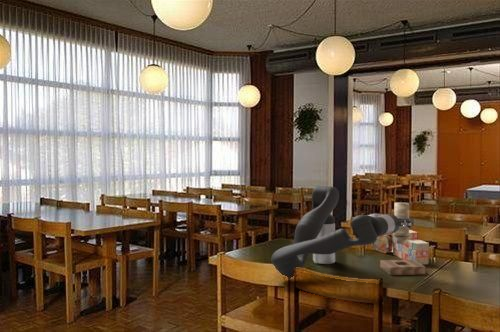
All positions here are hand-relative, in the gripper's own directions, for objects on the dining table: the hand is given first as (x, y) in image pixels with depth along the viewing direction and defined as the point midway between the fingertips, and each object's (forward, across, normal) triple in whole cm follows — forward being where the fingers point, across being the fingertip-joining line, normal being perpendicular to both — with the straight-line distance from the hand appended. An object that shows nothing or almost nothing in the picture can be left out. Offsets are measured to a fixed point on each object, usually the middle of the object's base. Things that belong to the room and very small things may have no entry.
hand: (404, 219), depth 190 cm
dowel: (-3, 0, -9) cm, 9 cm away
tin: (+28, -23, -21) cm, 42 cm away
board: (0, -1, -21) cm, 21 cm away
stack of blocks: (+21, -7, -21) cm, 31 cm away
